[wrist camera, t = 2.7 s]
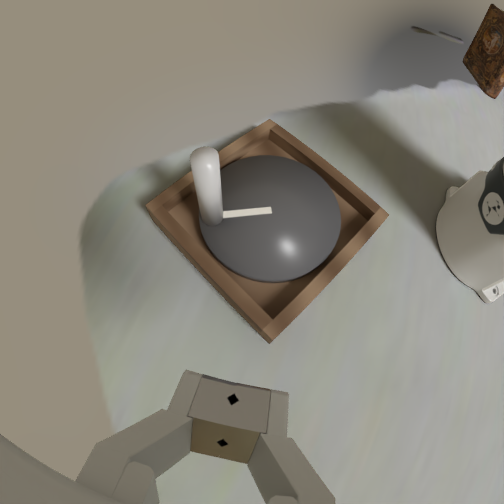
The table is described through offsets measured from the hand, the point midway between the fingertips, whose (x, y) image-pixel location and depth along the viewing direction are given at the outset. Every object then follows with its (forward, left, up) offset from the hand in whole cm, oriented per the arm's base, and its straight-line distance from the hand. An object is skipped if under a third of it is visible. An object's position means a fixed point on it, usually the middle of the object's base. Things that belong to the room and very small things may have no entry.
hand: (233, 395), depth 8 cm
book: (-76, -59, -23) cm, 99 cm away
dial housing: (-6, -17, -23) cm, 30 cm away
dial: (-6, -17, -22) cm, 28 cm away
